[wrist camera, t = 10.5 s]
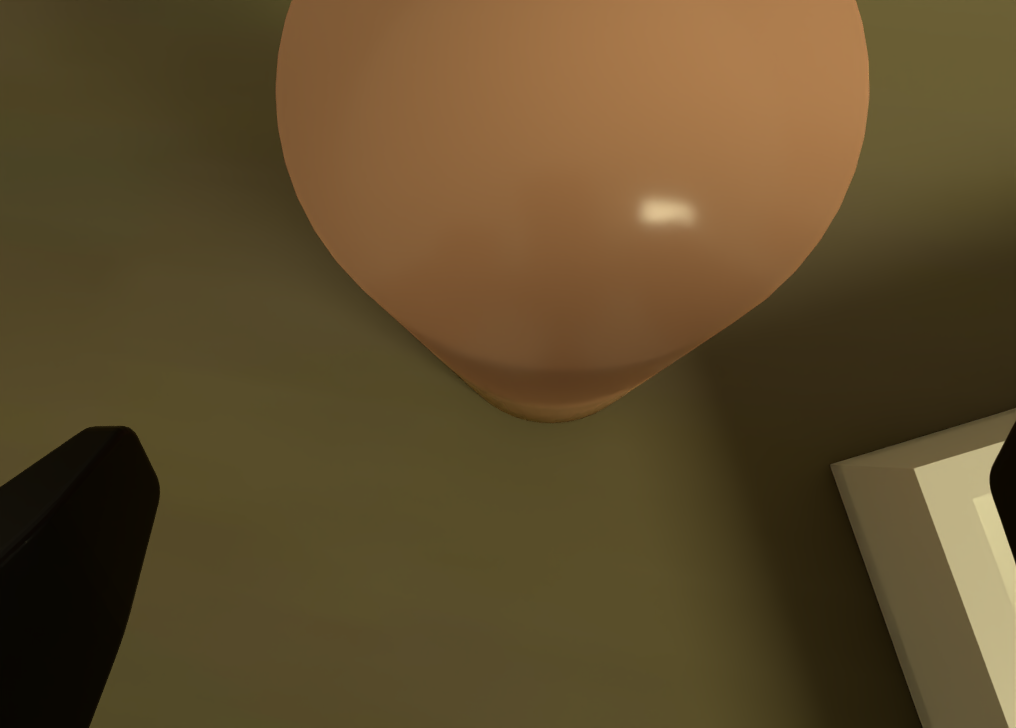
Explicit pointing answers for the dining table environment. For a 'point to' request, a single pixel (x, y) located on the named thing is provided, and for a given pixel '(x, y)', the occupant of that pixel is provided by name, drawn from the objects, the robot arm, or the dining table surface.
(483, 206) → the tan upright cylinder
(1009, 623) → the tote
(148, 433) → the dining table surface
